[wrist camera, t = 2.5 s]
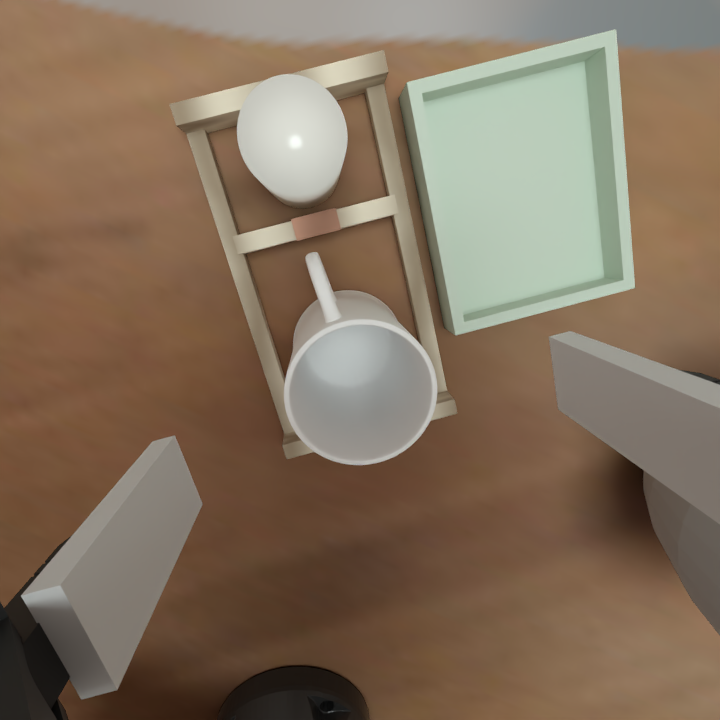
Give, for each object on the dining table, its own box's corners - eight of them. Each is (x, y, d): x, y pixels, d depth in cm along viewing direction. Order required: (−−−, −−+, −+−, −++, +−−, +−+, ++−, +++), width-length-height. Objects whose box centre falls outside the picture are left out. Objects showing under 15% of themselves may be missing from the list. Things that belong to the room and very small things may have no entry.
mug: (266, 263, 32) (234, 273, 20) (378, 233, 32) (410, 227, 21) (310, 407, 35) (305, 488, 24) (412, 380, 35) (456, 446, 24)
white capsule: (274, 217, 31) (256, 206, 22) (250, 135, 30) (221, 89, 21) (348, 198, 31) (359, 179, 23) (328, 115, 30) (331, 61, 21)
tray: (444, 327, 34) (455, 335, 31) (398, 98, 30) (406, 82, 27) (608, 284, 35) (634, 288, 32) (587, 49, 30) (616, 29, 27)
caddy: (289, 442, 36) (286, 462, 32) (184, 118, 29) (167, 102, 26) (446, 401, 36) (459, 416, 33) (377, 69, 29) (384, 47, 26)
